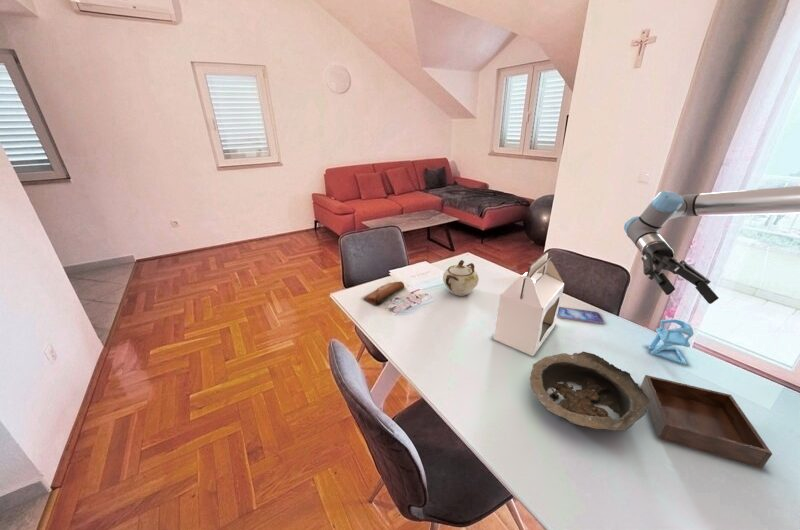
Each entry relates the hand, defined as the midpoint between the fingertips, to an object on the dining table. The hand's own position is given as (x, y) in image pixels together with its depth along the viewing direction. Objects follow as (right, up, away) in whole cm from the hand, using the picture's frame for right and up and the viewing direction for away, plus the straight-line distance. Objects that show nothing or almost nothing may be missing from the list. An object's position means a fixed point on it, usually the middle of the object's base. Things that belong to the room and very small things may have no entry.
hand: (692, 296), depth 90 cm
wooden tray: (-15, -29, -15) cm, 36 cm away
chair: (-2, -19, +8) cm, 21 cm away
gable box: (-41, -15, +18) cm, 47 cm away
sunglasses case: (-92, -4, +43) cm, 101 cm away
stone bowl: (-40, -27, -11) cm, 49 cm away
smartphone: (-17, -10, +28) cm, 34 cm away
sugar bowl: (-59, -3, +46) cm, 75 cm away
